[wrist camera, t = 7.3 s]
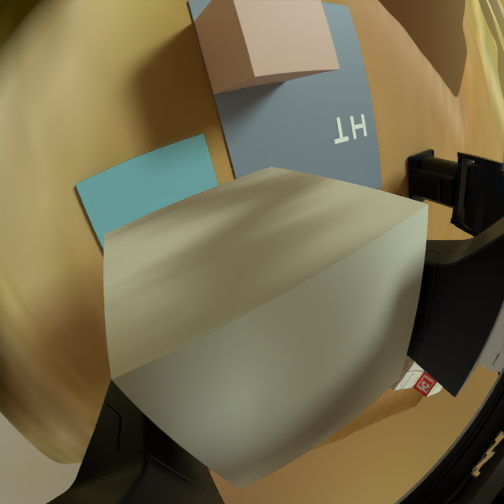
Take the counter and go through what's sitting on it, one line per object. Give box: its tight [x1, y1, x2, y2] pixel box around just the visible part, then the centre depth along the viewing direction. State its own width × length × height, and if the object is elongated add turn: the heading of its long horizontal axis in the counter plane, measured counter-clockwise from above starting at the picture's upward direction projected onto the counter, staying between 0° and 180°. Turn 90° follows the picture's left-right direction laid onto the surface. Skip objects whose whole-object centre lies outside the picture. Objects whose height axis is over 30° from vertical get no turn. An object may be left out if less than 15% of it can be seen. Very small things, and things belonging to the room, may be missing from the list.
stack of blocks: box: [390, 355, 442, 397], centre depth 37 cm, size 21×6×12 cm, turn 56°
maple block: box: [104, 167, 428, 489], centre depth 8 cm, size 6×6×6 cm
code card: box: [188, 0, 382, 189], centre depth 20 cm, size 16×20×1 cm
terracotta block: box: [194, 0, 340, 94], centre depth 14 cm, size 6×6×6 cm
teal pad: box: [76, 134, 218, 250], centre depth 18 cm, size 9×9×1 cm
